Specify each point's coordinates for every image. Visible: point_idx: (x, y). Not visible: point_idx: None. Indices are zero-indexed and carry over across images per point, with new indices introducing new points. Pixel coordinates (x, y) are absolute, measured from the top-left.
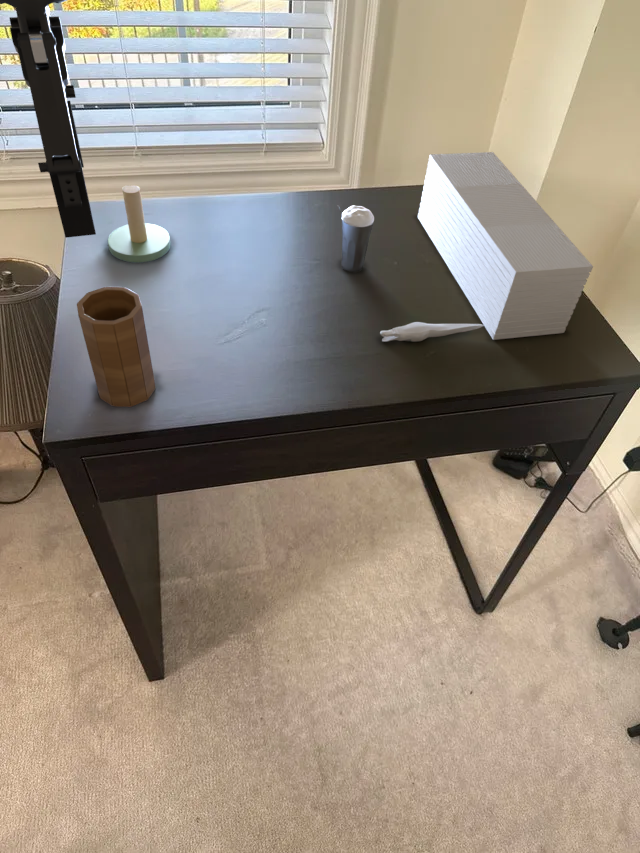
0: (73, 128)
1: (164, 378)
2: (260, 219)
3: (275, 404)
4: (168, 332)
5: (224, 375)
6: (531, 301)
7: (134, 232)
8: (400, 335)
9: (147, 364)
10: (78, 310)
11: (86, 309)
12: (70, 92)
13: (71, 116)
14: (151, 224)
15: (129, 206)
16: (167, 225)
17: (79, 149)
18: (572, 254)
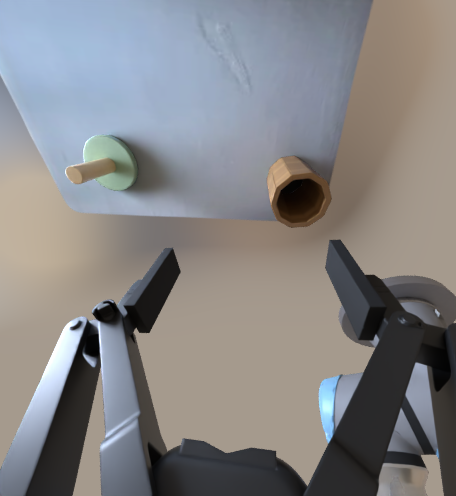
0: (152, 281)
1: (284, 148)
2: (21, 7)
3: (353, 27)
4: (228, 142)
5: (294, 88)
6: None
7: (109, 169)
8: None
9: (304, 163)
10: (300, 226)
11: (288, 218)
12: (109, 311)
13: (144, 292)
14: (84, 153)
15: (92, 176)
16: (75, 136)
17: (163, 261)
18: None
